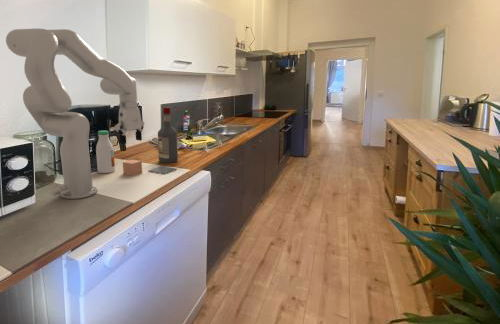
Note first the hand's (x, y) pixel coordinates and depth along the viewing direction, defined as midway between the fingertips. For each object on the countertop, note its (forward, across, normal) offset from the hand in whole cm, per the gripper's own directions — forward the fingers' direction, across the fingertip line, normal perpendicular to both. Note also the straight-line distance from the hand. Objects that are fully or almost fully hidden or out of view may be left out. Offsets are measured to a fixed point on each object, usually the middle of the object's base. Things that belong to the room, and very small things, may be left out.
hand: (131, 141), depth 146 cm
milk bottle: (+16, -4, +13) cm, 21 cm away
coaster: (+16, +10, -9) cm, 21 cm away
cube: (+16, 0, 0) cm, 16 cm away
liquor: (+16, +28, +1) cm, 32 cm away
